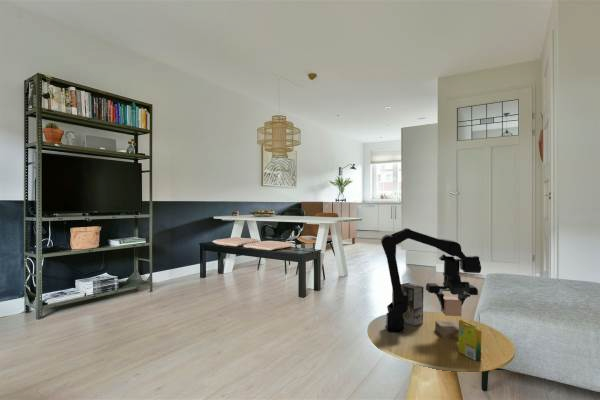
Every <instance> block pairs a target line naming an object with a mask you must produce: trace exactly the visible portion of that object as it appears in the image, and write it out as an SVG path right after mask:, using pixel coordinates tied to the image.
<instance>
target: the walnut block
mask: <svg viewBox="0 0 600 400" xmlns="http://www.w3.org/2000/svg"><path fill="white" fill-rule="evenodd" d="M434 325H435V327H434V330H435V332H437V333H438V334H439V335H440V337H442V338H443V339H444V340H445V339H446V340H459V321H451V320H449V321H448V320H447V321H445V320H444V321H443V320H442V321H440V320H435V324H434Z"/></svg>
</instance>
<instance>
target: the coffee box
mask: <svg viewBox="0 0 600 400" xmlns="http://www.w3.org/2000/svg"><path fill="white" fill-rule="evenodd" d="M401 288H402V292H406V293H407V296H408V303H409V305H408V310H407V311H406V312H405V313H403V318H404V323H406V324H409V325H411V326H418V325H422V324H423V323H424V286H422V285H417V284H414V283H411V282H405V283H401Z"/></svg>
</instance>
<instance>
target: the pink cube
mask: <svg viewBox="0 0 600 400" xmlns="http://www.w3.org/2000/svg"><path fill="white" fill-rule="evenodd" d="M443 299H444V310H442V308H441V307H440V311H441V313H443V315H444V316H449V317H462V307H463V305H462V301H461V300H459V299H458V296H445V295H444V297H443Z"/></svg>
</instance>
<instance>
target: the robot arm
mask: <svg viewBox="0 0 600 400" xmlns="http://www.w3.org/2000/svg"><path fill="white" fill-rule="evenodd" d="M408 239H409V240H412V241H416V242H419V243H422V244H425V245H428V246H430V247H434V248H435V249H438V250H440V251H442V252H443V253H442V255H441V256H440V257H438V259H439V260H440V261H441V262H442V261H444V262H443V265H444V266H443V273H442V275H443V283H442V285H438V284H437V283H434V282H433V283H432V282H429V283H428V282H427V283H426V285H425V291H427V292H428V293H429V294H434V295H435V296H436V297H437V299H438V302H439V305H440V309H441V308H442V310H444V299H443V297H444V296H445V294H444V293H443V292H450V294H451V295H453V296H455V295H457V298H458V299H459V300H461V301H462V306H463V304H464V302H465V301H466V299H467V298H470V297H471V296H478V295H479V290H478V288H477V287H476V286H474V285H473V284H470V282H469V281H462V280H461V279H462V278H461V275H460V271H462V272H463V273H465V274H466V273H470V274H481V271H482V265H481V260H480V256H478V255H465V253H464V252H463V251H462V246H461V244H460V243H459V242H456V241H455V240H452V239H445V238H437V237H434V236H432V235H428V234H424V233H422V232H418V231H416V230H413V229H410V228H407V227H405V228H402V229H401V230H398V231H397V232H394V233H392V234H384V235H383V236H382V237H381V239H380V243H381V246H382V249H383V251H384V255H385V256H386V260H387V261H386V263H387V265H388V272H389V278H390V282H391V289H392V291H391V292H392V294H391V295H392V296H391V300H392V301H391V302H390V303H389V304H387V307H386V308H387V312H386V320H385V321H386V325H385V328H386V330H387V332H390V333H405V322H404V318H403V313H405V312H406V311H407V310H408V305H409V303H408V296H407V293H406V292H402V288H401V284H402V283H401V279H400V273H399V267H398V261H397V245H399V244H402V242H404V241H405V240H408ZM444 253H445V254H444ZM446 254H447V255H446ZM455 257H457V258H455Z"/></svg>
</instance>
